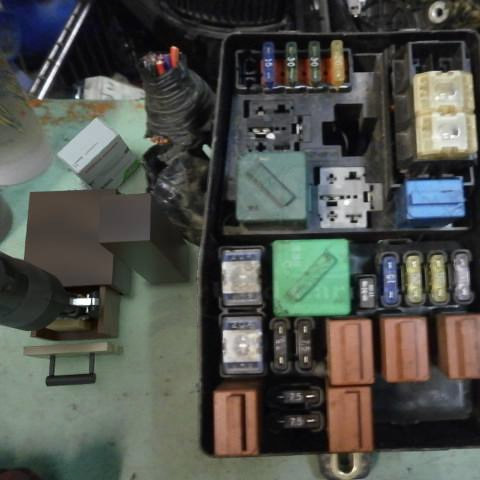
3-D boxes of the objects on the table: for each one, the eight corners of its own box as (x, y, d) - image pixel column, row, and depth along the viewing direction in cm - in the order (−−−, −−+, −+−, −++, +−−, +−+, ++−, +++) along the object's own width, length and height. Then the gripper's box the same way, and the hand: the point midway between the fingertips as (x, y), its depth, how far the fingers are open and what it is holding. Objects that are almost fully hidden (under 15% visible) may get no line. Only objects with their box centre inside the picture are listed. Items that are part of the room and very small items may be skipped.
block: (90, 329, 78) (78, 326, 74) (59, 331, 78) (45, 327, 74) (91, 299, 80) (80, 294, 75) (61, 301, 79) (48, 296, 75)
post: (189, 282, 86) (150, 240, 63) (151, 284, 86) (97, 243, 63) (189, 246, 88) (151, 192, 65) (151, 248, 88) (100, 194, 65)
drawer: (122, 383, 81) (105, 382, 74) (43, 388, 80) (19, 387, 73) (126, 267, 86) (111, 256, 79) (52, 271, 85) (30, 260, 78)
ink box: (121, 148, 92) (96, 113, 81) (142, 165, 92) (120, 132, 80) (83, 184, 90) (53, 153, 79) (105, 202, 89) (77, 173, 78)
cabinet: (130, 295, 85) (112, 284, 77) (49, 300, 85) (20, 288, 76) (133, 208, 89) (116, 188, 81) (55, 212, 89) (29, 191, 80)
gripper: (-52, 330, 61) (22, 344, 77) (77, 323, 62) (124, 338, 78) (-44, 265, 63) (27, 292, 79) (81, 259, 64) (126, 287, 80)
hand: (75, 315), depth 78 cm, fingers closed on block, 4 cm apart
